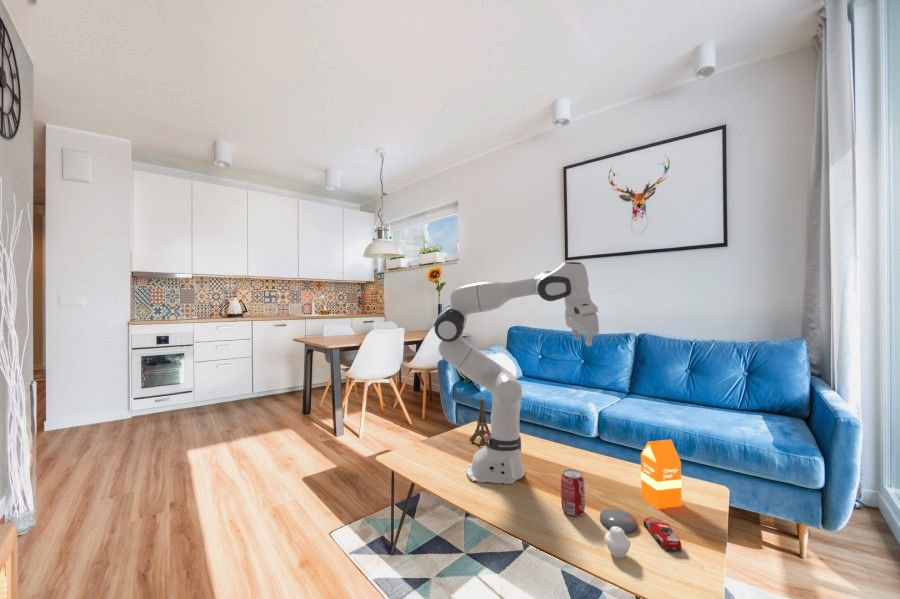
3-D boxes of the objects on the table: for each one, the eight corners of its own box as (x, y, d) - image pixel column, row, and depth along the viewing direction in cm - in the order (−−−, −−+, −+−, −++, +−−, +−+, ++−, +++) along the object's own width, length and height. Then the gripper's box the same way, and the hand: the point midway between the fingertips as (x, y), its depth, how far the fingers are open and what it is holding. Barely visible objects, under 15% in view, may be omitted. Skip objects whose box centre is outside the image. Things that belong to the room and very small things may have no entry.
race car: (640, 523, 110) (640, 510, 110) (659, 524, 110) (659, 510, 110) (663, 553, 97) (662, 537, 97) (684, 554, 96) (684, 538, 97)
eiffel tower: (466, 442, 176) (466, 389, 176) (482, 436, 183) (481, 386, 183) (482, 448, 168) (481, 393, 168) (498, 442, 175) (497, 390, 175)
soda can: (581, 505, 120) (581, 468, 120) (587, 518, 113) (586, 479, 113) (559, 505, 120) (558, 468, 120) (563, 517, 113) (563, 478, 113)
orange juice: (682, 506, 118) (680, 443, 119) (657, 509, 117) (656, 446, 117) (664, 494, 126) (663, 435, 126) (641, 496, 125) (639, 437, 125)
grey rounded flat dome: (609, 534, 105) (609, 529, 105) (594, 514, 115) (594, 509, 115) (644, 533, 105) (644, 527, 105) (626, 513, 115) (625, 508, 115)
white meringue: (605, 559, 95) (604, 531, 95) (604, 544, 100) (603, 518, 100) (632, 564, 92) (631, 536, 93) (629, 549, 98) (629, 523, 98)
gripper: (559, 303, 143) (563, 338, 145) (582, 311, 123) (587, 351, 125) (574, 300, 144) (579, 335, 145) (600, 308, 123) (604, 347, 125)
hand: (582, 342), depth 135 cm, fingers open, 8 cm apart
